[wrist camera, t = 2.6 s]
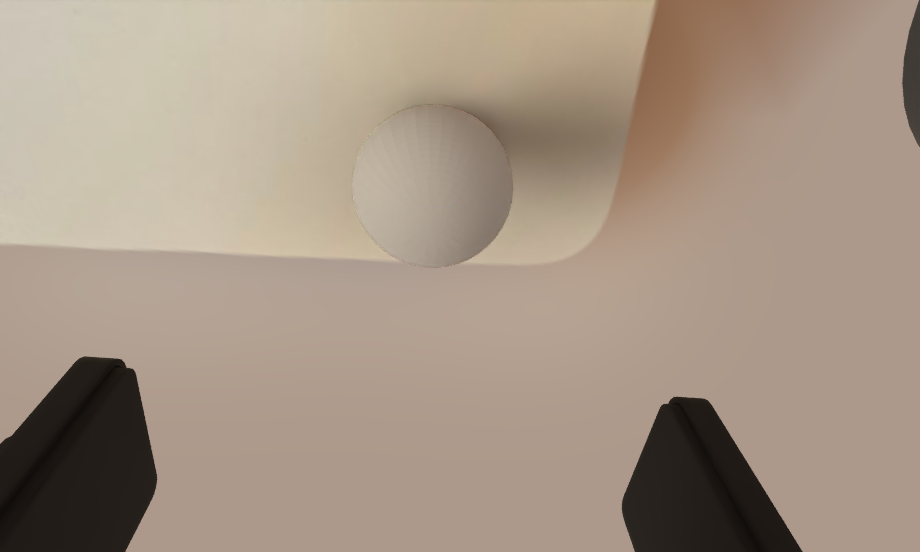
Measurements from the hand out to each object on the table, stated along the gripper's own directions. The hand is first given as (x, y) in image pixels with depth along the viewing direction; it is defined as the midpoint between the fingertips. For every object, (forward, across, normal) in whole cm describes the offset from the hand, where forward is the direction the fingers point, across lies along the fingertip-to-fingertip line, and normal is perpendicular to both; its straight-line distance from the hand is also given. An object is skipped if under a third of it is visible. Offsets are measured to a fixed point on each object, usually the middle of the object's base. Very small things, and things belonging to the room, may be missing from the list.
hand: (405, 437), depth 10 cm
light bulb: (+19, -1, 0) cm, 19 cm away
